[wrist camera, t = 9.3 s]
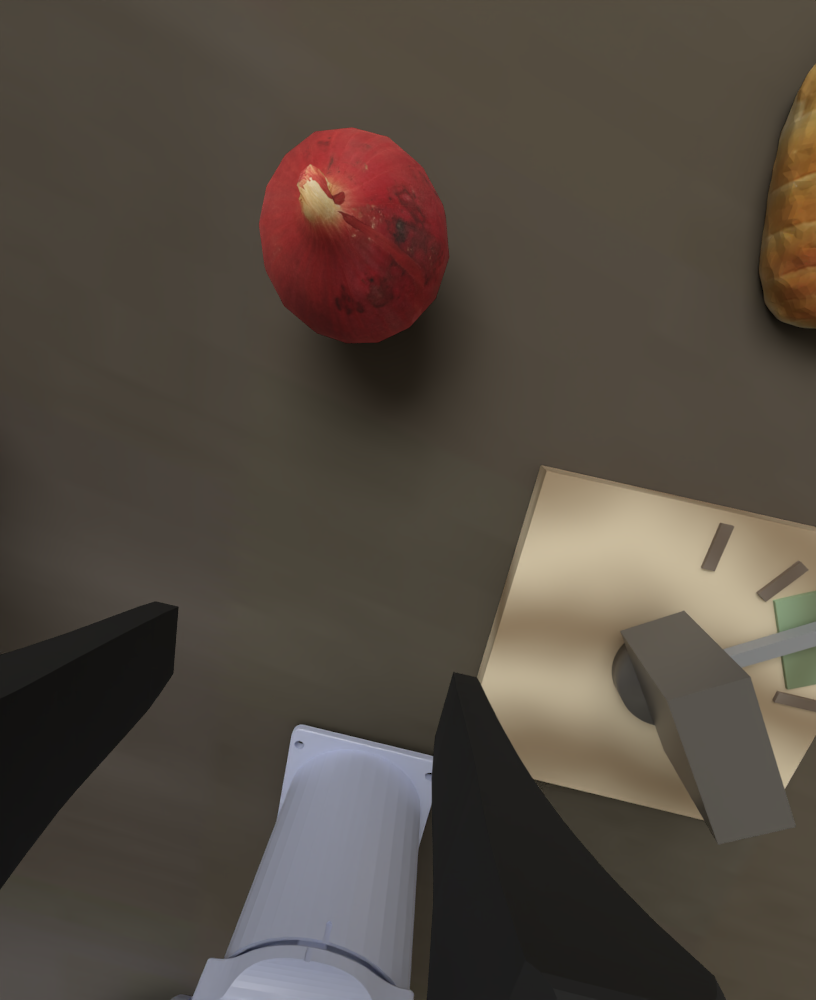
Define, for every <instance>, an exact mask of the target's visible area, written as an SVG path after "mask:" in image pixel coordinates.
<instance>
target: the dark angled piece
mask: <svg viewBox="0 0 816 1000" xmlns="http://www.w3.org/2000/svg"><path fill="white" fill-rule="evenodd" d="M620 632H621V635H622V638H623V640H624V644H623V645H622V646H621V647H620V648H619V650H618V651H617V653H616V655H615V657H614V660H613V664H612V679H613V683H614V685H615V687H616V689H617V691H618V693H619V695H620V697H621V699H622V701H623V703H624V704H625V706H626V707H627V709H628V710H629V711H630V712H631V713H632V714H633V715H634V716H636V717H637V718H639V719H640V720H642V721H644V722H646V723H649V724H652V725H655V727H656V730H657V733H658V736H659V738H660V741H661V744H662V746H663V749H664V751H665V753H666V755H667V757H668V758H669V760H670V762H671V764H672V765H673V767H674V769H675V771H676V772H677V774H678V776H679V778H680V779H681V781H682V783H683V784H684V786H685V788H686V790H687V791H688V793H689V795H690V797H691V798H692V800H693V802H694V804H695V805H696V807H697V809H698V811H699V812H700V814H701V816H702V818H703V819H704V821H705V823H706V824H707V826H708V828H709V830H710V831H711V833H712V835H713V837H714V838H715V840H716V842H717V844H722V843H727V842H731V841H736V840H740V839H745V838H749V837H754V836H758V835H762V834H767V833H771V832H776V831H780V830H785V829H789V828H794V827H796V825H795V822H794V819H793V815H792V812H791V809H790V806H789V802H788V799H787V796H786V792H785V789H784V786H783V782H782V779H781V776H780V772H779V769H778V766H777V763H776V759H775V756H774V753H773V749H772V746H771V743H770V739H769V736H768V733H767V729H766V726H765V723H764V720H763V716H762V713H761V710H760V706H759V703H758V700H757V696H756V693H755V690H754V686H753V683H752V680H751V677H750V676H749V675H748V674H747V673H746V672H745V671H744V670H743V669H742V667H746V666H749V665H753V664H756V663H760V662H763V661H767V660H770V659H773V658H777V657H780V656H784V655H787V654H791V653H794V652H798V651H801V650H804V649H808V648H811V647H815V646H816V622H812V623H809V624H806V625H802V626H799V627H796V628H792V629H789V630H786V631H782V632H779V633H776V634H772V635H769V636H766V637H762V638H759V639H756V640H752V641H749V642H746V643H742V644H739V645H736V646H732V647H729V648H726V649H722V648H721V647H720V646H719V645H718V644H717V643H716V642H715V641H714V640H713V639H712V638H711V637H710V636H709V635H708V634H707V633H706V632H705V631H704V630H703V629H702V628H701V627H700V626H699V625H698V624H697V623H696V622H695V621H694V620H693V619H692V618H691V617H690V616H689V615H688V614H687V613H686V612H685V611H681V612H678V613H675V614H672V615H669V616H665V617H662V618H659V619H656V620H653V621H650V622H647V623H644V624H640V625H637V626H634V627H631V628H628V629H625V630H622V631H620Z"/></svg>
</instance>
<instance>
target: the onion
mask: <svg viewBox="0 0 816 1000" xmlns="http://www.w3.org/2000/svg"><path fill="white" fill-rule="evenodd" d="M259 228H260V235H261V243H262V250H263V257H264V264H265V269H266V272H267V274H268V276H269V278H270V280H271V282H272V283H273V285H274V287H275V289H276V291H277V293H278V295H279V297H280V299H281V301H282V303H283V305H284V306H285V307H286V308H287V309H288V310H290V311H291V312H292V313H293V314H294V315H296V316H297V317H298V318H299V319H300V320H301V321H303V322H304V323H305V324H306V325H307V326H309V327H310V328H311V329H312V330H314V331H315V332H316V333H318V334H321V335H324V336H327V337H330V338H333V339H336V340H339V341H342V342H345V343H378V342H380V341H382V340H384V339H386V338H389V337H391V336H393V335H395V334H397V333H399V332H401V331H403V330H405V329H407V328H409V327H410V326H411V325H412V324H413V323H414V322H415V321H416V320H417V319H418V317H419V316H420V315H421V314H422V313H423V312H424V311H425V310H426V309H427V308H428V306H429V305H430V304H431V303H432V302H433V301H434V300H435V299H436V296H437V293H438V290H439V287H440V284H441V281H442V278H443V275H444V272H445V269H446V266H447V263H448V259H449V249H448V238H447V227H446V215H445V211H444V207H443V204H442V202H441V200H440V198H439V197H438V195H437V193H436V191H435V189H434V187H433V185H432V183H431V182H430V180H429V178H428V176H427V174H426V172H425V170H424V169H423V167H422V166H421V165H420V164H419V163H417V162H416V161H415V160H414V159H413V158H412V157H411V156H409V155H408V154H407V153H406V152H405V151H404V150H402V149H401V148H400V147H399V146H398V145H397V144H395V143H394V142H393V141H392V140H391V139H390V138H388V137H386V136H382V135H378V134H375V133H371V132H367V131H363V130H359V129H356V128H344V129H335V130H326V131H317V132H314V133H313V134H311V135H310V136H309V137H308V138H306V139H305V140H304V141H302V142H301V143H300V144H299V145H297V146H296V147H295V148H293V149H292V150H291V151H290V152H288V153H287V154H286V155H285V156H284V158H283V160H282V161H281V163H280V165H279V166H278V168H277V170H276V171H275V173H274V175H273V177H272V178H271V180H270V182H269V183H268V185H267V187H266V192H265V197H264V202H263V207H262V212H261V217H260V222H259Z"/></svg>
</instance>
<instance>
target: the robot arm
mask: <svg viewBox="0 0 816 1000" xmlns="http://www.w3.org/2000/svg"><path fill="white" fill-rule="evenodd" d="M177 619H178V607H177V606H173V605H168V604H164V603H160V602H152V603H149V604H146V605H143V606H140V607H137V608H134V609H131V610H128V611H126V612H123V613H120V614H118V615H115V616H112V617H110V618H107V619H104V620H102V621H99V622H96V623H93V624H91V625H88V626H85V627H82V628H80V629H77V630H74V631H72V632H69V633H66V634H63V635H60V636H57V637H54V638H51V639H48V640H45V641H42V642H39V643H36V644H33V645H30V646H27V647H24V648H21V649H18V650H15V651H12V652H9V653H5V654H2V655H0V889H1V888H2V886H3V885H4V884H5V882H6V881H7V879H8V878H9V877H10V875H11V874H12V872H13V871H14V870H15V868H16V867H17V866H18V864H19V863H20V861H21V860H22V859H23V857H24V856H25V855H26V853H27V852H28V851H29V849H30V848H31V847H32V846H33V844H34V843H35V842H36V840H37V839H38V838H39V836H40V835H41V834H42V832H43V831H44V830H45V828H46V827H47V826H48V824H49V823H50V822H51V820H52V819H53V818H54V817H55V815H56V814H57V813H58V811H59V810H60V809H61V808H62V807H63V805H64V804H65V803H66V802H67V801H68V799H69V798H70V797H71V796H72V795H73V793H74V792H75V791H76V790H77V789H78V788H79V787H80V786H81V784H82V783H83V782H84V781H85V780H86V779H87V778H88V777H89V776H90V774H91V773H92V772H93V771H94V770H95V769H96V768H97V767H98V766H99V764H100V763H101V762H102V761H103V760H104V759H105V758H106V757H107V756H108V754H109V753H110V752H111V751H112V750H113V749H114V748H115V747H116V746H117V744H118V743H119V742H120V741H121V740H122V739H123V738H124V737H125V736H126V734H127V733H128V732H129V731H130V730H131V729H132V728H133V727H134V725H135V724H136V723H137V722H138V721H139V720H140V719H141V717H142V716H143V715H144V714H145V713H146V712H147V711H148V709H149V708H150V707H151V705H152V704H153V702H154V701H155V700H156V698H157V697H158V695H159V694H160V693H161V691H162V690H163V688H164V687H165V685H166V684H167V682H168V681H169V679H170V678H171V676H172V675H173V670H174V658H175V645H176V632H177ZM298 741H301V742H303V743H299V742H298ZM427 773H432V774H427ZM431 804H432V837H433V914H432V930H431V947H430V963H429V977H428V991H427V1000H726V999H725V997H724V994H723V992H722V990H721V988H720V986H719V984H718V983H717V981H716V979H715V976H714V975H712V974H711V973H710V972H709V971H708V970H707V969H706V968H705V967H704V966H703V965H702V964H700V963H699V962H698V961H697V960H696V959H695V958H694V957H693V956H692V955H691V954H690V953H688V952H687V951H686V950H685V949H684V948H683V947H682V946H681V945H680V944H679V943H678V942H676V941H675V940H674V939H673V938H672V937H671V936H670V935H669V934H668V933H667V932H666V931H665V930H663V929H662V928H661V927H660V926H659V925H658V924H657V923H656V922H655V921H654V920H653V919H652V918H651V917H650V916H649V915H648V914H647V913H646V912H645V911H644V910H643V909H642V908H641V907H640V906H639V905H638V904H637V903H636V902H635V901H634V900H633V899H632V898H631V897H630V896H629V895H628V894H627V893H626V892H625V891H624V890H623V889H622V888H621V887H620V886H619V885H618V884H617V882H616V881H615V880H614V879H613V878H612V877H611V876H610V875H609V874H608V873H607V872H606V871H605V870H604V868H603V867H602V866H601V865H600V864H599V863H598V862H597V860H596V859H595V858H594V857H593V856H592V855H591V854H590V852H589V851H588V850H587V849H586V848H585V847H584V845H583V844H582V843H581V842H580V841H579V840H578V838H577V837H576V836H575V835H574V833H573V832H572V831H571V830H570V829H569V827H568V826H567V825H566V824H565V822H564V821H563V820H562V818H561V817H560V816H559V814H558V813H557V812H556V810H555V809H554V808H553V806H552V805H551V804H550V802H549V801H548V800H547V798H546V797H545V796H544V794H543V793H542V791H541V790H540V788H539V787H538V786H537V784H536V783H535V781H534V780H533V778H532V776H531V775H530V773H529V772H528V770H527V769H526V767H525V765H524V764H523V762H522V761H521V759H520V757H519V756H518V754H517V752H516V751H515V749H514V747H513V745H512V743H511V742H510V740H509V738H508V736H507V735H506V733H505V731H504V729H503V727H502V725H501V724H500V722H499V720H498V718H497V716H496V714H495V712H494V710H493V708H492V706H491V704H490V702H489V700H488V698H487V696H486V694H485V692H484V690H483V688H482V685H481V683H480V682H479V680H478V678H476V677H472V676H468V675H464V674H459V673H455V672H453V676H452V679H451V683H450V686H449V690H448V693H447V697H446V700H445V704H444V707H443V711H442V714H441V718H440V722H439V725H438V729H437V732H436V736H435V744H434V754H433V756H431V755H427V754H423V753H418V752H414V751H410V750H406V749H402V748H398V747H394V746H389V745H385V744H381V743H377V742H373V741H369V740H365V739H361V738H356V737H352V736H348V735H344V734H340V733H336V732H332V731H327V730H323V729H319V728H315V727H311V726H307V725H297V726H296V727H295V728H294V730H293V732H292V735H291V741H290V747H289V753H288V758H287V764H286V770H285V776H284V782H283V787H282V793H281V799H280V805H279V810H278V816H277V821H276V824H275V826H274V829H273V831H272V834H271V837H270V839H269V842H268V845H267V847H266V850H265V852H264V855H263V858H262V860H261V863H260V865H259V868H258V871H257V873H256V876H255V878H254V881H253V884H252V886H251V889H250V892H249V894H248V897H247V899H246V902H245V905H244V907H243V910H242V912H241V915H240V918H239V920H238V923H237V926H236V928H235V931H234V933H233V936H232V939H231V941H230V944H229V946H228V949H227V952H226V954H225V957H224V958H223V959H219V958H209V959H208V960H207V963H206V965H205V968H204V970H203V973H202V975H201V977H200V980H199V982H198V985H197V987H196V990H195V992H194V994H193V996H189V995H183V994H180V995H177V996H175V997H173V998H172V999H171V1000H414V993H413V992H412V991H411V990H410V977H411V960H412V944H413V928H414V912H415V895H416V879H417V863H418V848H419V845H420V842H421V838H422V835H423V831H424V828H425V825H426V821H427V818H428V814H429V811H430V808H431Z"/></svg>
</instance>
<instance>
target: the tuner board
mask: <svg viewBox="0 0 816 1000" xmlns="http://www.w3.org/2000/svg"><path fill="white" fill-rule="evenodd" d="M681 611H685V612H686V613H687V614H688V615H689V616H690V617H691V618H692V619H693V620H694V621H695V622H696V623H697V624H698V625H699V626H700V627H701V628H702V629H703V630H704V631H705V632H706V633H707V634H708V635H709V636H710V637H711V638H712V639H713V640H714V641H715V642H716V643H717V644H718V645H719V646H720V647H721V648H722V649H726V648H729V647H732V646H736V645H739V644H742V643H746V642H749V641H752V640H756V639H759V638H762V637H766V636H769V635H772V634H776V633H779V632H782V631H786V630H789V629H792V628H796V627H799V626H802V625H806V624H809V623H812V622H816V527H813V526H809V525H805V524H800V523H796V522H791V521H787V520H782V519H778V518H774V517H769V516H765V515H760V514H756V513H751V512H747V511H742V510H738V509H734V508H729V507H725V506H720V505H716V504H711V503H707V502H703V501H698V500H694V499H689V498H685V497H680V496H676V495H672V494H667V493H663V492H658V491H654V490H649V489H645V488H640V487H636V486H632V485H627V484H623V483H618V482H614V481H609V480H605V479H601V478H596V477H592V476H587V475H583V474H578V473H574V472H570V471H565V470H561V469H556V468H552V467H547V466H543V465H541V466H540V470H539V473H538V476H537V480H536V483H535V486H534V490H533V493H532V496H531V500H530V503H529V506H528V510H527V513H526V516H525V520H524V523H523V526H522V530H521V533H520V536H519V539H518V543H517V546H516V549H515V553H514V556H513V559H512V563H511V566H510V569H509V573H508V576H507V579H506V583H505V586H504V589H503V593H502V596H501V599H500V603H499V606H498V609H497V613H496V616H495V619H494V622H493V626H492V629H491V632H490V636H489V639H488V642H487V646H486V649H485V652H484V656H483V659H482V662H481V666H480V669H479V672H478V676H477V678H478V680H479V682H480V683H481V685H482V688H483V690H484V692H485V694H486V696H487V698H488V700H489V702H490V704H491V706H492V708H493V710H494V712H495V714H496V716H497V718H498V720H499V722H500V724H501V725H502V727H503V729H504V731H505V733H506V735H507V736H508V738H509V740H510V742H511V743H512V745H513V747H514V749H515V751H516V752H517V754H518V756H519V757H520V759H521V761H522V762H523V764H524V765H525V767H526V769H527V770H528V772H529V773H530V775H531V776H532V778H533V779H535V780H540V781H544V782H548V783H552V784H556V785H560V786H564V787H569V788H573V789H577V790H581V791H585V792H589V793H593V794H597V795H602V796H606V797H610V798H614V799H618V800H622V801H626V802H631V803H635V804H639V805H643V806H647V807H651V808H655V809H660V810H664V811H668V812H672V813H676V814H680V815H684V816H688V817H693V818H697V819H701V820H704V819H703V818H702V816H701V814H700V812H699V811H698V809H697V807H696V805H695V804H694V802H693V800H692V798H691V797H690V795H689V793H688V791H687V790H686V788H685V786H684V784H683V783H682V781H681V779H680V778H679V776H678V774H677V772H676V771H675V769H674V767H673V765H672V764H671V762H670V760H669V758H668V757H667V755H666V753H665V751H664V749H663V746H662V744H661V741H660V738H659V736H658V733H657V730H656V727H655V725H652V724H649V723H646V722H644V721H642V720H640V719H639V718H637V717H636V716H634V715H633V714H632V713H631V712H630V711H629V710H628V709H627V707H626V706H625V704H624V703H623V701H622V699H621V697H620V695H619V693H618V691H617V689H616V687H615V685H614V683H613V679H612V664H613V660H614V657H615V655H616V653H617V651H618V650H619V648H620V647H621V646H622V645H623V644H624V640H623V638H622V635H621V632H620V631H622V630H625V629H628V628H631V627H634V626H637V625H640V624H644V623H647V622H650V621H653V620H656V619H659V618H662V617H665V616H669V615H672V614H675V613H678V612H681ZM742 669H743V670H744V671H745V672H746V673H747V674H748V675H749V676H750V677H751V680H752V683H753V686H754V690H755V693H756V696H757V700H758V703H759V706H760V710H761V713H762V716H763V720H764V723H765V726H766V729H767V733H768V736H769V739H770V743H771V746H772V749H773V753H774V756H775V759H776V763H777V766H778V769H779V772H780V776H781V779H782V782H783V786H784V789H785V788H786V786H787V784H788V782H789V781H790V779H791V777H792V775H793V774H794V772H795V770H796V768H797V767H798V765H799V763H800V761H801V760H802V758H803V756H804V754H805V753H806V751H807V749H808V748H809V746H810V744H811V742H812V741H813V739H814V737H815V735H816V646H815V647H811V648H808V649H804V650H801V651H798V652H794V653H791V654H787V655H784V656H780V657H777V658H773V659H770V660H767V661H763V662H760V663H756V664H753V665H749V666H746V667H742Z"/></svg>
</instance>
